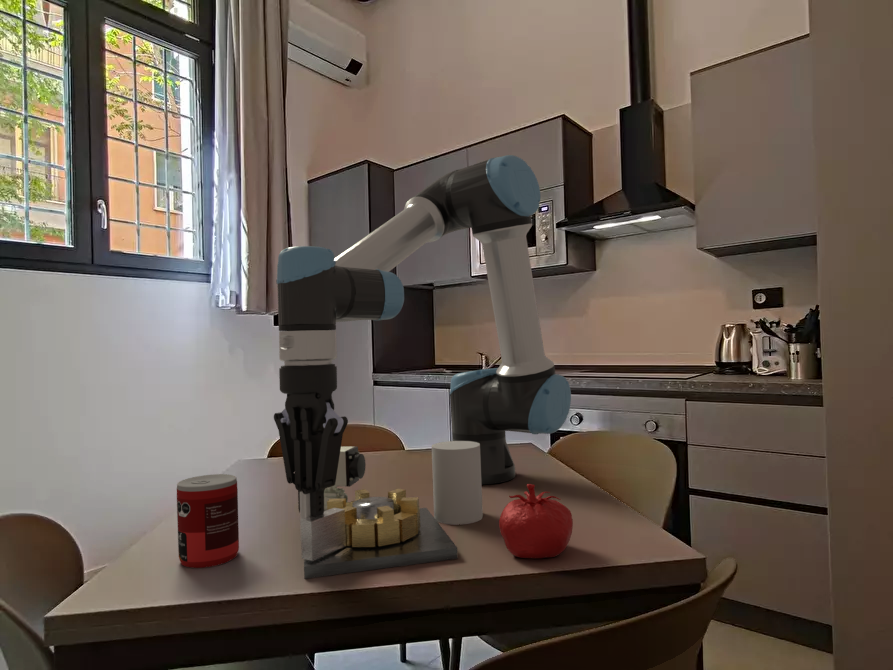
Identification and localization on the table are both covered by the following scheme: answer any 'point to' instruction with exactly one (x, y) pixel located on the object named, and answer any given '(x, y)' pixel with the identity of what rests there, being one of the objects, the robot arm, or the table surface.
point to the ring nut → (359, 525)
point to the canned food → (207, 520)
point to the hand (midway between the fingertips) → (311, 538)
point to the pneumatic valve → (346, 473)
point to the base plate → (386, 546)
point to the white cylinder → (457, 482)
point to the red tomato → (535, 525)
